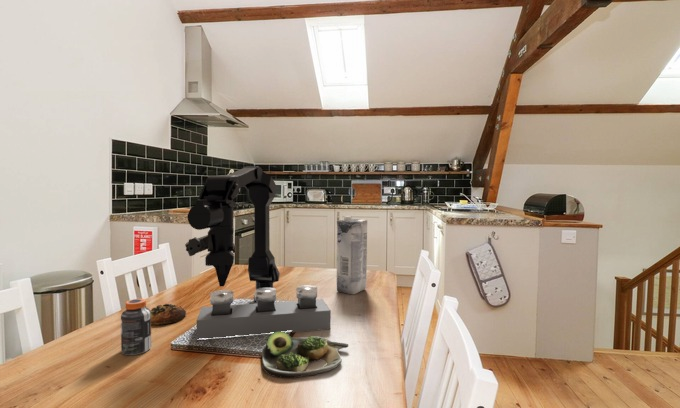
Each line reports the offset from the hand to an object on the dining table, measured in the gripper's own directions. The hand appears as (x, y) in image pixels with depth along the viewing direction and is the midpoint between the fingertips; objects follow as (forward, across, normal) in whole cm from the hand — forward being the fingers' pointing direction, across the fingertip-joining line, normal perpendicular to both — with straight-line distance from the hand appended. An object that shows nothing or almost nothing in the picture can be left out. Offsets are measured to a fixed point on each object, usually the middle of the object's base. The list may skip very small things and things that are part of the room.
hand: (221, 286), depth 93 cm
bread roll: (+12, -13, -16) cm, 24 cm away
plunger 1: (+9, 0, 0) cm, 9 cm away
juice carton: (+12, -28, +43) cm, 53 cm away
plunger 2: (+9, 0, +22) cm, 24 cm away
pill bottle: (+12, +7, -18) cm, 23 cm away
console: (+12, 0, +11) cm, 16 cm away
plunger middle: (+9, 0, +11) cm, 14 cm away
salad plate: (+12, +19, +17) cm, 28 cm away
